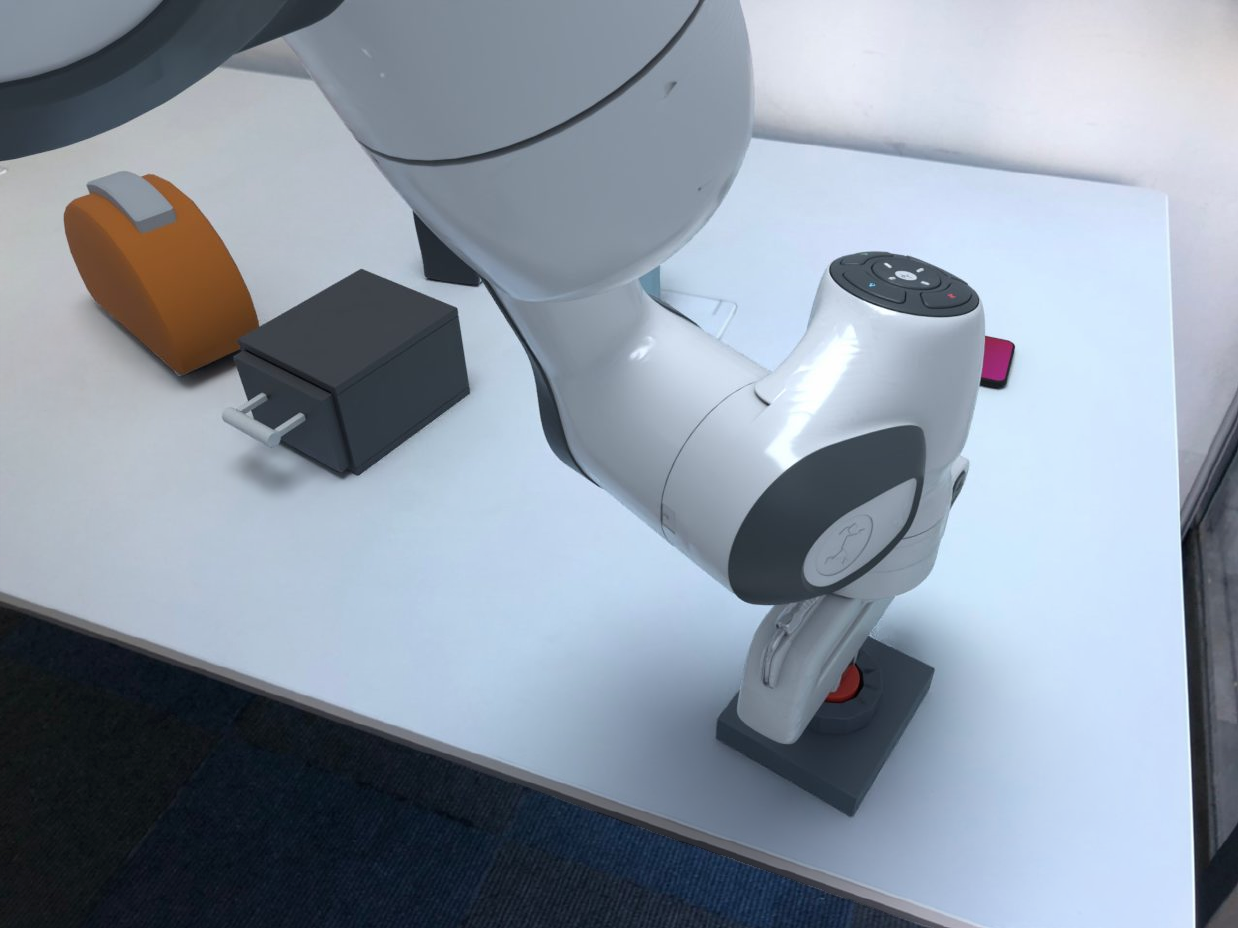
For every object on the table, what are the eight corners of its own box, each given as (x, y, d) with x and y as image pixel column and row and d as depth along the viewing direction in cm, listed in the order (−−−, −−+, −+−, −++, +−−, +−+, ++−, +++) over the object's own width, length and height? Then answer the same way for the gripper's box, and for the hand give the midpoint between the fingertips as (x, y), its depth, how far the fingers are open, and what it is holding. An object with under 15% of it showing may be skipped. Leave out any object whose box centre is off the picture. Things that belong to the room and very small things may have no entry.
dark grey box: (357, 475, 88) (334, 387, 82) (264, 425, 94) (236, 339, 88) (470, 392, 97) (457, 307, 90) (379, 351, 103) (361, 268, 96)
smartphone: (1006, 384, 94) (848, 349, 99) (1003, 391, 95) (847, 356, 99) (1016, 341, 99) (866, 309, 104) (1014, 348, 100) (865, 317, 105)
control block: (852, 817, 62) (860, 782, 60) (715, 738, 67) (717, 702, 64) (929, 687, 70) (940, 651, 67) (801, 623, 74) (806, 587, 72)
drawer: (303, 500, 84) (280, 428, 79) (218, 451, 90) (191, 380, 85) (448, 395, 95) (436, 325, 90) (365, 356, 100) (349, 288, 95)
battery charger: (492, 271, 114) (481, 176, 107) (479, 288, 111) (466, 192, 104) (436, 263, 116) (421, 169, 108) (422, 280, 113) (405, 184, 106)
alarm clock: (272, 356, 102) (226, 204, 91) (190, 394, 98) (131, 240, 87) (168, 275, 115) (117, 134, 104) (91, 306, 111) (29, 161, 100)
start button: (840, 722, 65) (844, 706, 64) (791, 695, 66) (793, 679, 65) (865, 685, 67) (869, 668, 66) (816, 660, 69) (819, 643, 67)
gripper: (825, 671, 49) (799, 819, 58) (981, 446, 61) (940, 598, 70) (714, 614, 52) (706, 763, 61) (885, 410, 64) (857, 560, 73)
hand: (833, 673), depth 66 cm, fingers closed, pressing on start button
